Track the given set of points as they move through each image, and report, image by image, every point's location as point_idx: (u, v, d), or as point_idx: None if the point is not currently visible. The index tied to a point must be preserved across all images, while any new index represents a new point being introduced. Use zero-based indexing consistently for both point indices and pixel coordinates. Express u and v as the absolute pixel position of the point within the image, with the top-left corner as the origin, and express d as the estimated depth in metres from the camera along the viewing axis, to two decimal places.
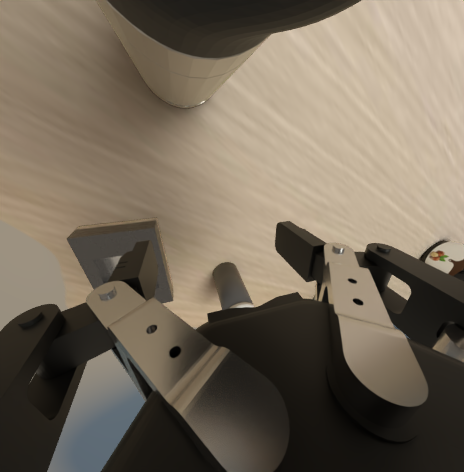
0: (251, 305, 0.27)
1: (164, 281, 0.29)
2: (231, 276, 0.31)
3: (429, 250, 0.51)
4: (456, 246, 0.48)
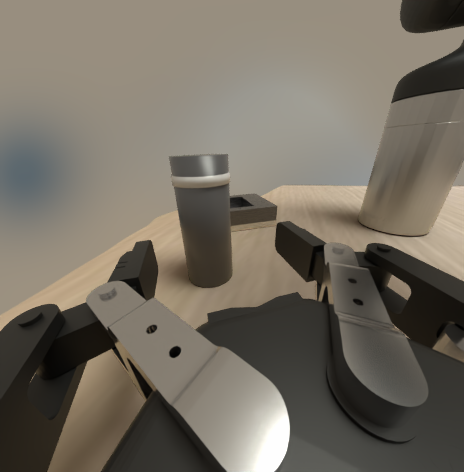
0: (226, 179, 0.15)
1: None
2: None
3: None
4: None
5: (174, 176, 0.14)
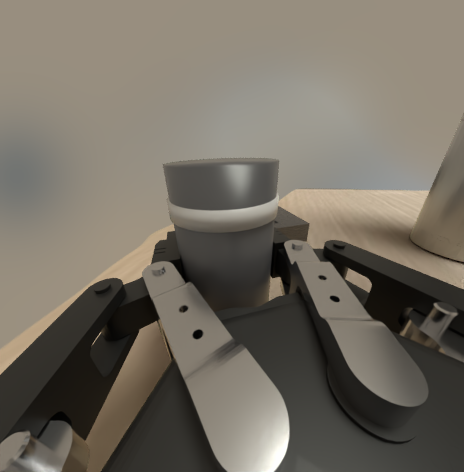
0: (276, 209, 0.08)
1: None
2: None
3: None
4: None
5: (174, 205, 0.07)
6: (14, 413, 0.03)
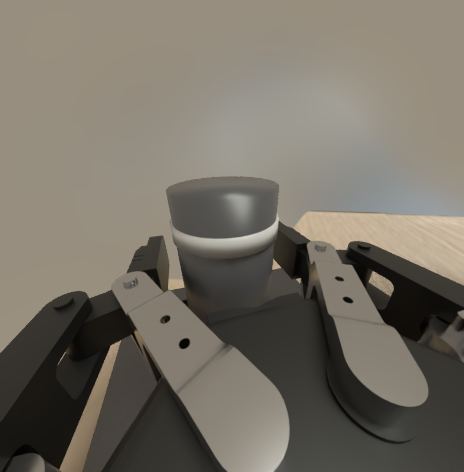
0: (276, 232, 0.08)
1: None
2: None
3: None
4: None
5: (177, 231, 0.07)
6: None
